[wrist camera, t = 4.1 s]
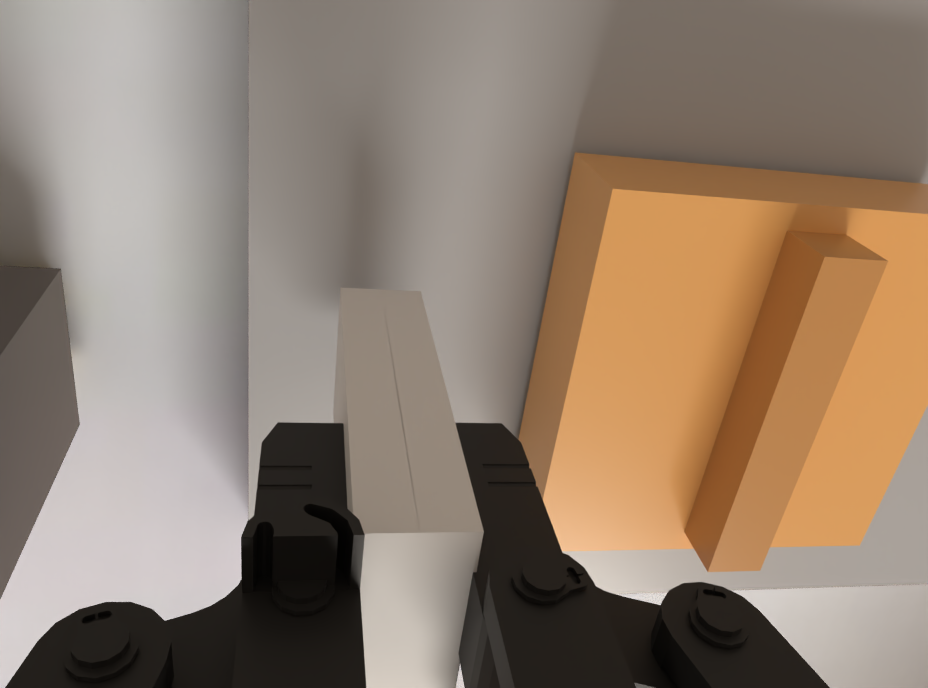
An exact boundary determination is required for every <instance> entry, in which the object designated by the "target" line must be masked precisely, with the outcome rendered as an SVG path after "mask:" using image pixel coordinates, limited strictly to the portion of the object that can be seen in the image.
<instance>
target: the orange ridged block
mask: <svg viewBox="0 0 928 688" xmlns="http://www.w3.org/2000/svg"><path fill="white" fill-rule="evenodd" d="M927 406H928V184H922V183H911V182H900V181H889V180H877V179H866V178H855V177H844V176H833V175H822V174H810V173H799V172H788V171H777V170H766V169H755V168H743V167H732V166H721V165H710V164H699V163H688V162H676V161H665V160H654V159H643V158H632V157H621V156H609V155H598V154H587V153H576V152H575V155H574V160H573V165H572V170H571V175H570V180H569V185H568V190H567V195H566V200H565V205H564V211H563V216H562V221H561V226H560V231H559V236H558V241H557V246H556V251H555V256H554V261H553V266H552V271H551V276H550V281H549V287H548V292H547V297H546V302H545V307H544V312H543V317H542V322H541V327H540V332H539V337H538V342H537V347H536V352H535V358H534V363H533V368H532V373H531V378H530V383H529V388H528V393H527V398H526V403H525V408H524V413H523V418H522V423H521V429H520V434H519V439H518V440H519V441H520V442H521V443H522V446H523V449H524V451H525V454H526V457H527V459H528V462H529V468H531V470H532V473H533V475H534V478H535V481H536V487H538V489H539V491H540V494H541V497H542V499H543V502H544V505H545V507H546V510H547V513H548V515H549V518H550V521H551V523H552V526H553V529H554V531H555V534H556V537H557V539H558V542H559V545H560V547H561V550H562V551H609V550H660V549H694V550H695V551H696V553H697V555H698V556H699V558H700V560H701V562H702V563H703V565H704V567H705V568H706V570H707V572H734V571H760V570H761V568H762V565H763V563H764V561H765V558H766V556H767V553H768V551H769V548H770V547H812V546H860V544H861V542H862V540H863V538H864V536H865V534H866V532H867V530H868V527H869V525H870V523H871V521H872V519H873V517H874V515H875V513H876V511H877V509H878V507H879V505H880V503H881V501H882V499H883V496H884V494H885V492H886V490H887V488H888V486H889V484H890V482H891V480H892V478H893V476H894V474H895V472H896V470H897V468H898V465H899V463H900V461H901V459H902V457H903V455H904V453H905V451H906V449H907V447H908V445H909V443H910V441H911V439H912V437H913V434H914V432H915V430H916V428H917V426H918V424H919V422H920V420H921V418H922V416H923V414H924V412H925V410H926V408H927Z"/></svg>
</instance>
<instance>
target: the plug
mask: <svg viewBox="0 0 928 688" xmlns="http://www.w3.org/2000/svg"><path fill="white" fill-rule="evenodd" d="M79 425H80V423H79V415H78V407H77V398H76V390H75V382H74V374H73V365H72V357H71V349H70V341H69V332H68V324H67V316H66V308H65V300H64V291H63V283H62V275H61V269H53V268H33V267H13V266H0V599H1V596H2V594H3V592H4V590H5V588H6V585H7V583H8V581H9V579H10V577H11V574H12V572H13V570H14V568H15V566H16V563H17V561H18V559H19V557H20V555H21V552H22V550H23V548H24V546H25V544H26V541H27V539H28V537H29V535H30V533H31V530H32V528H33V526H34V524H35V522H36V519H37V517H38V515H39V513H40V511H41V508H42V506H43V504H44V502H45V500H46V497H47V495H48V493H49V491H50V489H51V486H52V484H53V482H54V480H55V478H56V475H57V473H58V471H59V469H60V467H61V464H62V462H63V460H64V458H65V456H66V453H67V451H68V449H69V447H70V445H71V442H72V440H73V438H74V436H75V434H76V431H77V429H78V427H79Z"/></svg>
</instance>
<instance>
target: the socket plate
mask: <svg viewBox="0 0 928 688" xmlns="http://www.w3.org/2000/svg"><path fill="white" fill-rule="evenodd" d="M575 152H576V153H587V154H598V155H609V156H621V157H632V158H643V159H654V160H665V161H676V162H688V163H699V164H710V165H721V166H732V167H743V168H755V169H766V170H777V171H788V172H799V173H810V174H822V175H833V176H844V177H855V178H866V179H877V180H889V181H900V182H911V183H922V184H928V0H249V125H248V520H250V519H251V518H252V517H253V516H254V511H255V501H256V492H257V483H258V473H259V464H260V454H261V445H262V441H263V440H264V439H265V438H266V436H267V435H268V434H269V433H270V431H271V430H272V429H273V428H274V426H275V425H276V424H277V423H278V422H291V423H334V418H333V407H334V390H335V372H336V355H337V338H338V321H339V303H340V288H361V289H382V290H403V291H421V294H422V298H423V302H424V306H425V310H426V313H427V317H428V321H429V325H430V329H431V333H432V336H433V340H434V344H435V348H436V352H437V355H438V359H439V363H440V367H441V371H442V374H443V378H444V382H445V386H446V390H447V393H448V397H449V401H450V405H451V409H452V413H453V416H454V420H455V423H502V424H503V425H504V426H505V427H506V428H507V429H508V430H509V431H510V432H511V433H512V434H513V435H514V436H515V437H516V438H517V439H519V434H520V429H521V423H522V418H523V413H524V408H525V403H526V398H527V393H528V388H529V383H530V378H531V373H532V368H533V363H534V358H535V352H536V347H537V342H538V337H539V332H540V327H541V322H542V317H543V312H544V307H545V302H546V297H547V292H548V287H549V281H550V276H551V271H552V266H553V261H554V256H555V251H556V246H557V241H558V236H559V231H560V226H561V221H562V216H563V211H564V205H565V200H566V195H567V190H568V185H569V180H570V175H571V170H572V165H573V160H574V155H575ZM562 552H563V553H564V554H567V555H569V556H570V557H572V558H573V559H574V560H575V561H577V562H578V563H579V564H581V565H582V566H583V567H584V568H585V569H586V571H587V572H588V574H589V575H590V577H591V579H592V580H593V582H594V584H595V586H596V587H598V588H600V589H602V590H604V591H607V592H610V593H613V594H634V593H665V592H668V591H669V590H670V589H672V588H674V587H676V586H678V585H680V584H682V583H691V582H705V583H709V584H713V585H718V586H722V587H724V588H726V589H728V590H759V589H790V588H822V587H853V586H884V585H916V584H928V406H927V408H926V410H925V412H924V414H923V416H922V418H921V420H920V422H919V424H918V426H917V428H916V430H915V432H914V434H913V437H912V439H911V441H910V443H909V445H908V447H907V449H906V451H905V453H904V455H903V457H902V459H901V461H900V463H899V465H898V468H897V470H896V472H895V474H894V476H893V478H892V480H891V482H890V484H889V486H888V488H887V490H886V492H885V494H884V496H883V499H882V501H881V503H880V505H879V507H878V509H877V511H876V513H875V515H874V517H873V519H872V521H871V523H870V525H869V527H868V530H867V532H866V534H865V536H864V538H863V540H862V542H861V544H860V546H812V547H770V548H769V551H768V553H767V556H766V558H765V561H764V563H763V565H762V568H761V570H760V571H734V572H707V570H706V568H705V567H704V565H703V563H702V562H701V560H700V558H699V556H698V555H697V553H696V551H695V550H694V549H660V550H609V551H562Z"/></svg>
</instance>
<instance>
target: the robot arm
mask: <svg viewBox="0 0 928 688" xmlns="http://www.w3.org/2000/svg"><path fill="white" fill-rule="evenodd" d="M333 418H334V423H291V422H278V423H277V424H276V425H275V426H274V428H273V429H272V430H271V431H270V433H269V434H268V435H267V436H266V438H265V439H264V440H263V441H262V445H261V454H260V464H259V473H258V483H257V492H256V501H255V511H254V516H253V517H252V518H251V519H250V520H248V522H247V524H246V527H245V529H244V532H243V534H242V537H241V559H242V580H241V581H240V583H239V585H238V586H237V587H236V588H235V589H234V590H233V591H231V592H230V593H229V594H228V595H227V596H226V597H225V598H223V599H221V600H220V601H218V602H216V603H215V604H213V605H212V606H209V607H207V608H204V609H202V610H199V611H196V612H194V613H191V614H187V615H184V616H181V617H177V618H174V619H170V620H167V621H164V620H163V619H162V618H161V617H160V616H159V615H158V614H157V613H156V612H155V611H154V610H152V609H150V608H147V607H144V606H141V605H138V604H135V603H132V602H105V603H101V604H97V605H94V606H90V607H86V608H83V609H79V610H78V611H76V612H74V613H72V614H71V615H69V616H67V617H65V618H63V619H62V620H60V621H58V622H56V623H55V624H54V625H53V626H52V627H51V628H50V629H49V630H48V631H47V632H46V633H45V634H44V635H43V636H42V637H41V638H40V639H39V641H38V642H37V643H36V644H35V646H34V647H33V649H32V650H31V652H30V653H29V654H28V656H27V657H26V659H25V660H24V662H23V663H22V664H21V666H20V667H19V669H18V670H17V672H16V673H15V675H14V676H13V677H12V679H11V680H10V682H9V683H8V685H7V686H6V687H5V688H456V682H457V677H458V671H459V666H460V664H461V670H462V675H463V681H464V686H465V688H829V686H828V685H827V684H826V683H825V682H824V681H823V680H822V679H821V678H820V677H819V675H818V674H817V673H816V672H815V671H814V670H813V669H812V668H811V667H810V666H809V665H808V663H807V662H806V661H805V660H804V659H803V658H802V657H801V656H800V655H799V654H798V652H797V651H796V650H795V649H794V648H793V647H792V646H791V645H790V644H789V643H788V642H787V640H786V639H785V638H784V637H783V636H782V635H781V634H780V633H779V632H778V631H777V629H776V628H775V627H774V626H773V625H772V624H771V623H770V622H769V621H768V620H767V619H766V617H765V616H764V615H763V614H762V613H761V612H760V611H759V610H758V609H757V608H755V607H754V606H753V605H752V604H751V603H750V602H748V601H747V600H746V599H745V598H744V597H742V596H740V595H738V594H736V593H734V592H732V591H730V590H728V589H726V588H724V587H722V586H718V585H713V584H709V583H705V582H691V583H682V584H680V585H678V586H676V587H674V588H672V589H670V590H669V591H668V593H667V595H666V596H665V598H664V600H663V601H662V604H661V605H657V604H652V603H648V602H644V601H639V600H635V599H631V598H627V597H622V596H619V595H616V594H613V593H610V592H607V591H604V590H602V589H600V588H598V587H596V586H595V584H594V582H593V580H592V579H591V577H590V575H589V574H588V572H587V571H586V569H585V568H584V567H583V566H582V565H581V564H579V563H578V562H577V561H575V560H574V559H573V558H572V557H570V556H569V555H567V554H564V553H563V552H562V550H561V547H560V545H559V542H558V539H557V537H556V534H555V531H554V529H553V526H552V523H551V521H550V518H549V515H548V513H547V510H546V507H545V505H544V502H543V499H542V497H541V494H540V491H539V489H538V487H536V481H535V478H534V475H533V473H532V470H531V468H529V462H528V459H527V457H526V454H525V451H524V449H523V446H522V443H521V442H520V441H519V440H518V439H517V438H516V437H515V436H514V435H513V434H512V433H511V432H510V431H509V430H508V429H507V428H506V427H505V426H504V425H503V424H502V423H455V420H454V416H453V413H452V409H451V405H450V401H449V397H448V393H447V390H446V386H445V382H444V378H443V374H442V371H441V367H440V363H439V359H438V355H437V352H436V348H435V344H434V340H433V336H432V333H431V329H430V325H429V321H428V317H427V313H426V310H425V306H424V302H423V298H422V294H421V291H403V290H382V289H361V288H340V303H339V321H338V338H337V355H336V372H335V390H334V407H333Z"/></svg>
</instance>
